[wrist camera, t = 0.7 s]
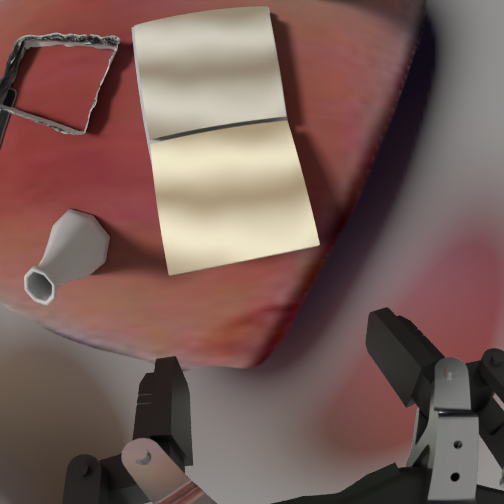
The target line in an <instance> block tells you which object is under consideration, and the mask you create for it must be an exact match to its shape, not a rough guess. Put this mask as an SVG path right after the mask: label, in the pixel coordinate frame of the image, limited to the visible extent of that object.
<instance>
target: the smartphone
mask: <svg viewBox="0 0 504 504" xmlns="http://www.w3.org/2000/svg"><path fill="white" fill-rule="evenodd" d="M16 97H17V91H16V90H15V89H12V88H9V89H8V92H7V95H6V97H5V99H4V101H3V105H5V106H8V107H11V108H12V107H13V105H14V102H15V100H16ZM9 116H10V112H8V111H7V110H2V109H0V145H1V141H2V138H3V135H4V131H5V128H6V125H7V122H8V119H9Z"/></svg>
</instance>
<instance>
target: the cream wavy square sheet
mask: <svg viewBox="0 0 504 504" xmlns="http://www.w3.org/2000/svg"><path fill="white" fill-rule="evenodd" d="M150 147H151V158H152V167H153V176H154V184H155V192H156V199H157V207H158V214H159V220H160V227H161V233H162V239H163V245H164V251H165V257H166V262H167V268H168V273H169V276H174V275H179V274H184V273H189V272H194V271H199V270H204V269H209V268H214V267H219V266H224V265H229V264H234V263H239V262H244V261H249V260H254V259H258V258H263V257H268V256H273V255H278V254H283V253H288V252H292V251H297V250H302V249H307V248H312V247H316V246H318V245H320V243H319V239H318V234H317V230H316V226H315V221H314V217H313V213H312V209H311V205H310V201H309V197H308V193H307V189H306V185H305V181H304V177H303V174H302V170H301V166H300V162H299V159H298V155H297V152H296V148H295V145H294V141H293V138H292V134H291V131H290V127H289V124H288V121H277V122H269V123H260V124H253V125H245V126H239V127H232V128H226V129H220V130H214V131H208V132H203V133H198V134H193V135H188V136H183V137H178V138H173V139H169V140H165V141H160V142H156V143H152V144H150Z"/></svg>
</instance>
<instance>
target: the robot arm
mask: <svg viewBox="0 0 504 504" xmlns="http://www.w3.org/2000/svg"><path fill="white" fill-rule="evenodd" d="M366 347H367V350H368V353H369V354H370V356H371V357H372V359H373V360H374V361H375V363H376V364H377V366H378V367H379V368H380V370H381V372H382V373H383V374H384V375H385V377H386V379H387V380H388V382H389V383H390V384H391V386H392V387H393V389H394V390H395V392H396V393H397V395H398V396H399V397H400V399H401V401H402V402H403V404H404V405H405V407H409V406H411V405H413V404H415V403H416V405H417V406H418V409H417V412H416V421H415V429H414V436H413V442H412V448H411V452H410V455H409V457H408V460H407V463H406V466H405V467H402V468H398V467H397V465H396V464H395V463H393V464H390V465H388V466H386V467H384V468H382V469H380V470H377V471H375V472H372V473H370V474H368V475H366V476H365V477H363V478H362V479H360V480H359V481H357V482H356V483H354V484H353V485H351V486H350V487H348V488H346V489H345V490H343V491H341V492H339V493H336V494H327V495H315V496H302V497H298V498H295V499H290V500H286V501H282V502H277V503H272V504H504V491H502V490H498V489H493V488H489V487H485V486H482V485H478V484H477V472H478V451H479V435H480V436H481V438H482V439H483V441H484V442H485V444H486V445H487V447H488V448H489V450H490V451H491V453H492V454H493V455H494V457H495V459H496V460H497V462H498V464H499V465H500V467H501V468H502V470H503V471H502V478H501V479H500V486H501V487H502V488H504V411H503V409H502V408H501V407H500V406H499V404H498V403H497V402H496V401H495V400H494V398H493V396H494V394H495V393H496V394H497V396H498V397H499V398H500V399H501V400H502V402H503V403H504V351H502V350H500V349H496V348H492V349H488V350H487V351H485V352H484V354H483V356H482V358H481V360H480V361H475V362H470V363H464V362H463V361H461V360H460V359H457V358H454V357H444V356H443V355H442V353H441V352H440V351H439V350H438V349H437V348H436V347H435V346H434V345H433V344H432V343H431V342H430V341H429V340H428V339H427V338H426V337H425V336H424V335H423V333H422V332H421V331H420V330H418V329H417V327H416V326H415V325H414V324H413V323H412V322H411V321H410V320H408V319H406V318H404V317H402V316H396V315H395V314H394V313H393V312H392V311H391V310H390V309H389V308H387V307H386V308H382V309H379V310H376V311H373V312H370V314H369V317H368V326H367V334H366ZM138 395H139V397H138V400H137V407H136V416H135V424H134V433H133V440H132V441H131V442H130V443H128V444H127V445H126V446H125V448H124V449H123V452H122V453H121V454H119V455H116V456H113V457H110V458H106V459H102V460H99V461H98V460H97V459H96V458H95V457H93V456H91V455H88V454H82V455H78V456H76V457H74V458H73V459H72V460H71V461H70V463H69V464H68V467H67V472H66V479H65V486H64V494H63V503H62V504H144V503H148V502H152V503H153V504H217V503H216V502H215V501H214V500H212V499H211V498H210V497H209V496H208V495H207V494H206V493H205V492H204V491H203V490H202V489H201V488H200V487H198V486H197V485H196V484H195V483H194V482H193V481H191V479H189V477H188V476H186V474H185V466H190V465H191V466H192V465H193V455H192V438H191V419H190V418H191V416H190V393H189V389H188V384H187V381H186V379H185V377H184V374H183V372H182V370H181V367H180V365H179V362H178V360H177V358H176V357H175V356H173V357H166V358H158V359H156V362H155V370H154V372H153V373H146V374H145V376H144V378H143V379H142V381H141V383H140V385H139V392H138Z"/></svg>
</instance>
